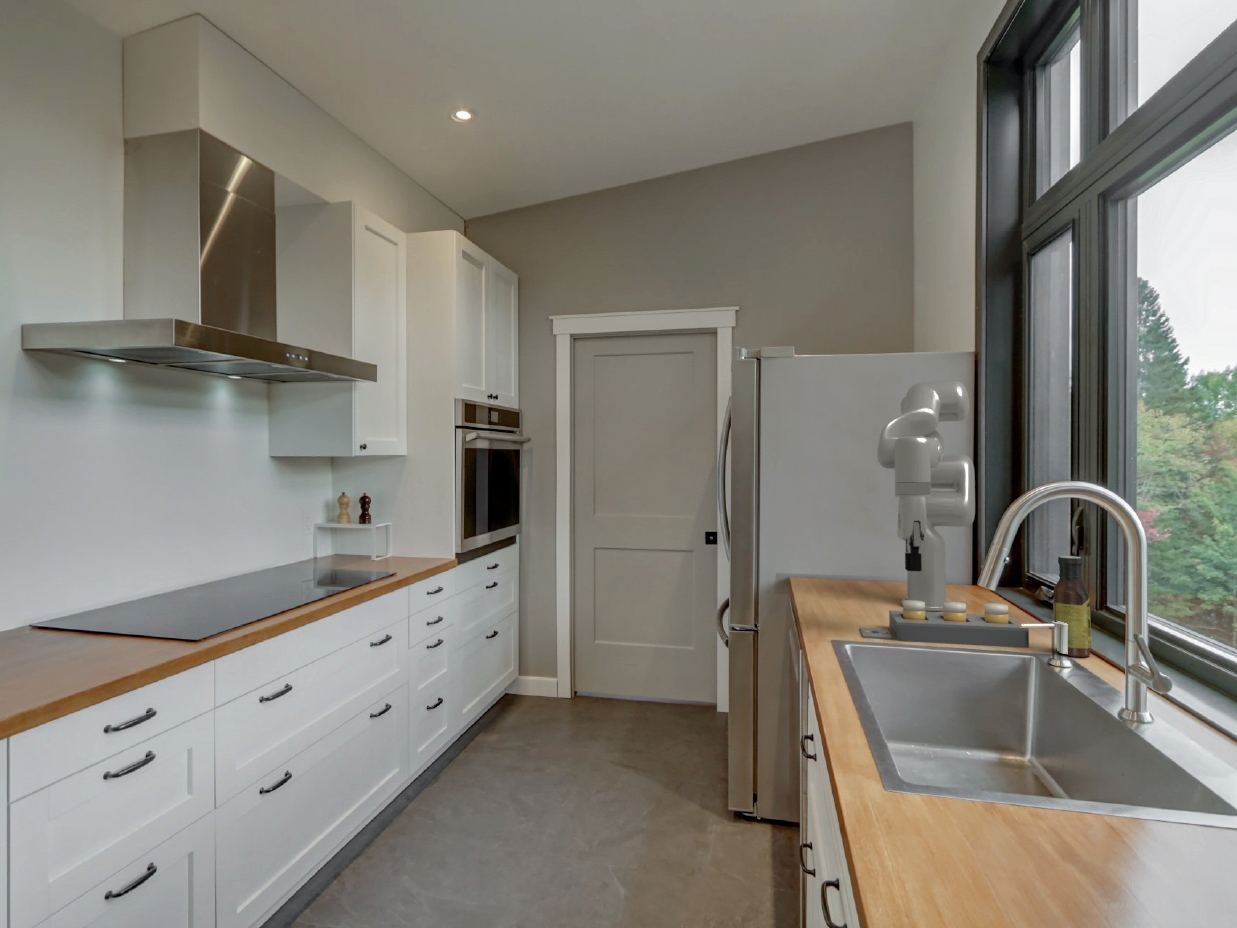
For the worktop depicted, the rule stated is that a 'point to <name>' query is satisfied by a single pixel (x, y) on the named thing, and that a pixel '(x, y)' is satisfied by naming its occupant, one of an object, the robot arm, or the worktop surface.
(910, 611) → the button
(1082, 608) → the sauce bottle
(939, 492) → the robot arm
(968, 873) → the worktop surface
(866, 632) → the card
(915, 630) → the button board
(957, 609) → the button middle
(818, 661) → the worktop surface
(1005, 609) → the button
